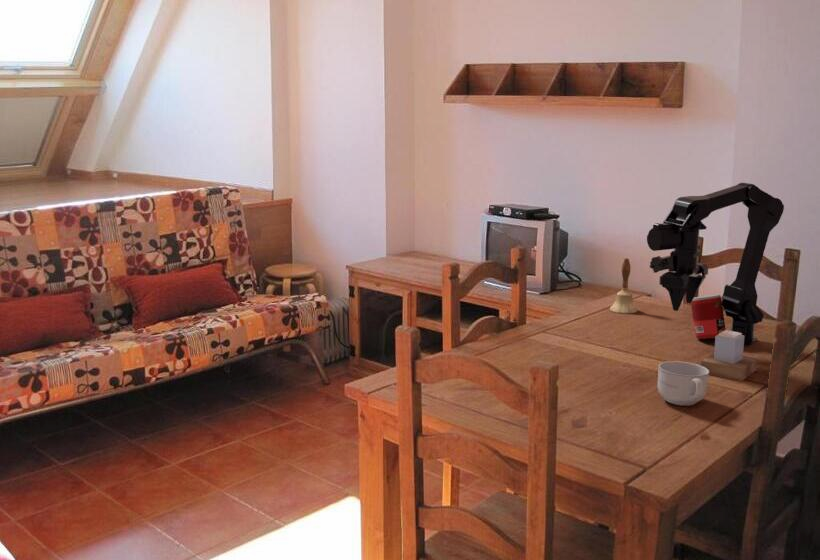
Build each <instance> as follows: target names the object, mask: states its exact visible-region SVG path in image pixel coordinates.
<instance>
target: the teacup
mask: <svg viewBox="0 0 820 560" xmlns="http://www.w3.org/2000/svg"><path fill="white" fill-rule="evenodd" d="M657 367H658V371H657V373H658V374H657V385H656V386H657V391H658V393H659V395H660V396H661V397H662V398H663V399H664V400H665V401H666V402H667V403H669V404H673V405H677V406H693V405H696V404H697V403H698V402H700V401H702V400H703V398H705V395H706V392H707V387H708V381H709V380H708V379H709V375H710V374H709V370H708V369H707V368H705V367H703V366H701V364H696V363H695V362H694V363H693V362H687V361H680V360H679V361H677V360H667V361H662V362H660V363H659V364H658V366H657Z"/></svg>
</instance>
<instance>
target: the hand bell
mask: <svg viewBox="0 0 820 560" xmlns="http://www.w3.org/2000/svg"><path fill="white" fill-rule="evenodd" d="M630 274H631V262H630V259H629V258H624V260H623V262H622V265H621V276H622V284H621V285H622V286H621V290H620V291H618V292H617V293H616V298H615V301H614V303H613V304H612V305H611V306H610V308H609V310H610V311H611V312H613V313H617V314H626V315H627V314H636V313H638V311H639V310H638V308H637V307H636V305H635V303H634V300H633V293H632V292H631V291H629V290H628V289H629V286H628V285H629V277H630Z"/></svg>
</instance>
